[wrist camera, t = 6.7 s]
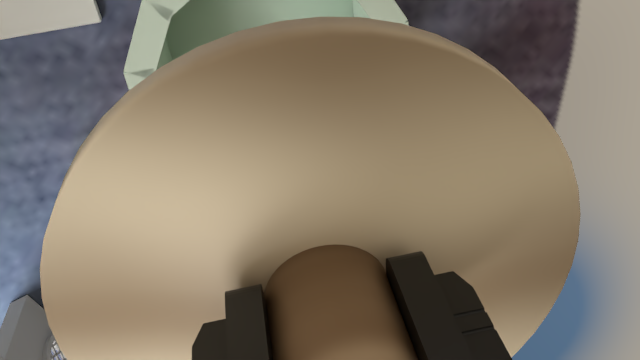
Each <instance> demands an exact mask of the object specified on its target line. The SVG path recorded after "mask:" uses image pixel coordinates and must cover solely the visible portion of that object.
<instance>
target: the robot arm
mask: <svg viewBox="0 0 640 360" xmlns="http://www.w3.org/2000/svg"><path fill="white" fill-rule="evenodd" d="M386 275H387V278H388V280H389V283H390V286H391V288H392V291H393V294H394V296H395V299H396V302H397V304H398V307H399V310H400V312H401V315H402V318H403V320H404V323H405V325H406V328H407V331H408V333H409V336H410V339H411V341H412V344H413V347H414V349H415V352H416V355H417V357H418V360H512V358H511V356H510V354H509V353H508V351H507V349H506V347H505V345H504V343H503V341H502V340H501V338H500V336H499V334H498V332H497V330H495V329H494V325H493V323H492V321H491V319H490V317H489V316H488V314H487V312H485V310H484V306H483V305H482V303H481V301H480V299H479V297H478V295H477V294H476V292H475V290H474V288H473V287H472V286H471V285H470V284H469V283H467V282H466V281H465V280H464V279H462V278H461V277H460V276H459V275H457V274H456V273H455V272H454V271H451V272H446V273H441V274H436V275H434V273H433V271H432V269H431V267H430V265H429V263H428V261H427V259H426V257H425V255H424V253H423V252H422V251H419V252H414V253H409V254H404V255H399V256H394V257H390V258H386ZM225 317H226V319H222V320H217V321H212V322H208V323H203V325H202V327H201V329H200V331H199V333H198V335H197V337H196V339H195V341H194V343H193V345H192V360H273V356H272V348H271V340H270V331H269V323H268V315H267V307H266V299H265V295H264V292H263V288H262V285H261V284H258V285H254V286H249V287H244V288H239V289H234V290H230V291H225Z"/></svg>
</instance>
